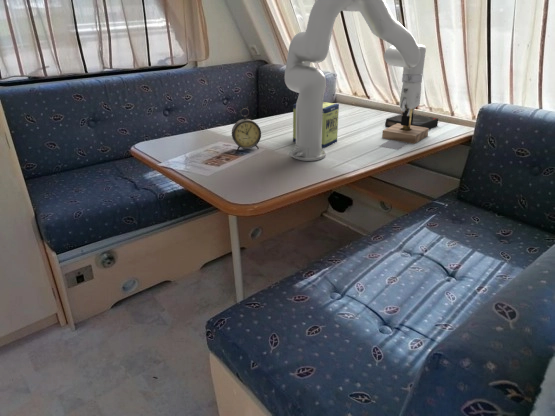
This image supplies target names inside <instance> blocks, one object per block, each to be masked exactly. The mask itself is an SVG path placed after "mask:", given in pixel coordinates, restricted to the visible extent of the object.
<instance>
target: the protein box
mask: <svg viewBox="0 0 555 416" xmlns="http://www.w3.org/2000/svg"><path fill="white" fill-rule="evenodd" d="M292 106H293V108H292V109H293V110H292V114H293V115H292V117H293V119H292V124H293V125H292V129H293V131H292V132H293V133H292V142H293V143H296V103H294V104H293V105H292ZM339 111H340V104H339V103H335V102H334V103H333V102H327V101H326V102H325V101H323V111H322V146H321V149H325V148H327V147H329V146H331V145H333V143H334V144H336V143H337V142H338V132H339V131H338V130H339V129H338V128H339ZM335 142H336V143H335Z"/></svg>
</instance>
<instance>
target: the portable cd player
mask: <svg viewBox="0 0 555 416" xmlns="http://www.w3.org/2000/svg"><path fill="white" fill-rule="evenodd" d="M401 119H402V113H401V114H398V115H394V116H392V117H388V118H386V119H385V121H384V122H385V123H384V127H386V128H389V127H391V126H393V125H395V124H397V123H399V124H401ZM438 123H439V118H437V117H432V116H428V115H427V116H426V115H421V114H416V113H414V116H413V123H412V124H411V125H412V126H418V127H425V128H429V130H431V129H433V128H436V127H438Z"/></svg>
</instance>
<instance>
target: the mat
mask: <svg viewBox="0 0 555 416" xmlns="http://www.w3.org/2000/svg"><path fill="white" fill-rule="evenodd" d="M409 144H410V143H407V142H401V141H396V140H391V139H388V141H386V142H384V143H382V144H380V145H379V147H381V148H385V149H386V148H387V149H391V150H396V151H398V150H400V149H402V148H403V147H406V146H408V145H409Z"/></svg>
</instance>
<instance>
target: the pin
mask: <svg viewBox="0 0 555 416" xmlns="http://www.w3.org/2000/svg"><path fill="white" fill-rule="evenodd" d="M405 108H407V107H405ZM407 111H408V110H407ZM409 116H410V120H409V126H404V125H403V129H402V130H405V131H410V125H411V117H412V109H410V113H409Z"/></svg>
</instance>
